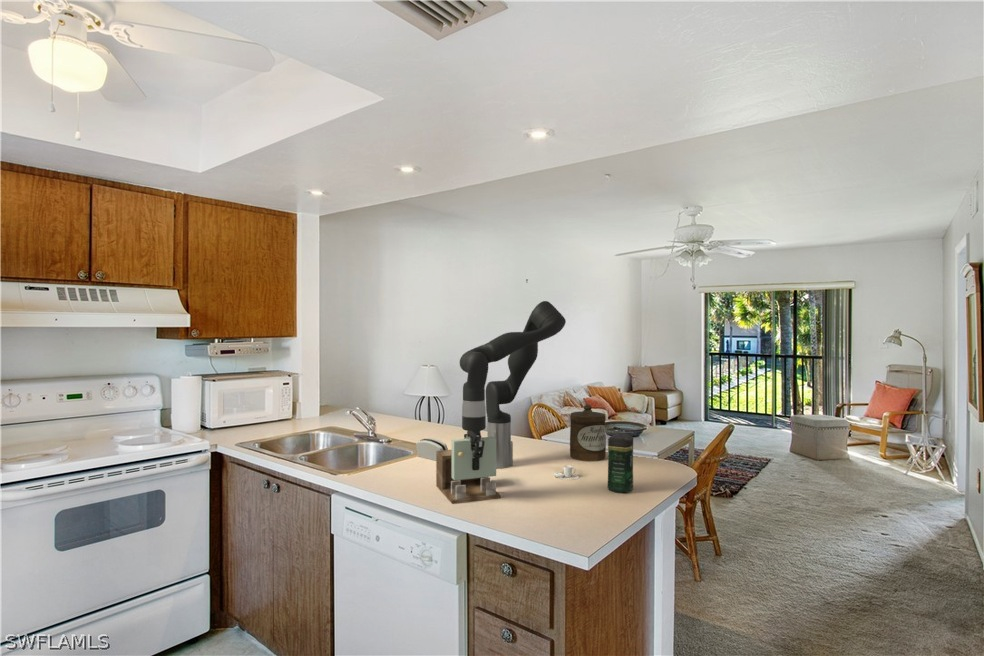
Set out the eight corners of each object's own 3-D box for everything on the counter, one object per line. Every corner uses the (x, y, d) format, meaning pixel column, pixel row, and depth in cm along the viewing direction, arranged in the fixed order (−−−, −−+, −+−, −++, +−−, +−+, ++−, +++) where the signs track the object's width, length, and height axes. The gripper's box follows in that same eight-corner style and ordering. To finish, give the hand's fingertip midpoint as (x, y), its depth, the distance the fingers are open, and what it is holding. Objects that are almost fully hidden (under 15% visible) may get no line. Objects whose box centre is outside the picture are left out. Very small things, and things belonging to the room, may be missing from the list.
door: (493, 473, 170) (492, 436, 170) (497, 476, 166) (497, 439, 166) (451, 477, 165) (451, 439, 165) (455, 481, 161) (455, 442, 161)
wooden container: (582, 462, 210) (582, 408, 210) (563, 454, 223) (563, 403, 223) (613, 459, 216) (613, 406, 216) (592, 451, 229) (592, 401, 229)
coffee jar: (629, 495, 169) (629, 437, 169) (605, 491, 172) (605, 435, 172) (635, 487, 177) (635, 432, 177) (612, 484, 181) (612, 430, 181)
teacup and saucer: (552, 479, 188) (552, 468, 188) (557, 473, 195) (557, 462, 195) (576, 481, 185) (576, 470, 185) (580, 476, 192) (580, 465, 192)
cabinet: (480, 481, 184) (480, 447, 184) (500, 497, 166) (500, 460, 166) (436, 486, 178) (436, 450, 178) (452, 503, 160) (452, 464, 160)
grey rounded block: (454, 460, 213) (448, 439, 210) (446, 467, 209) (440, 445, 207) (426, 454, 223) (420, 433, 221) (418, 460, 220) (412, 439, 218)
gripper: (492, 416, 161) (492, 473, 161) (477, 410, 174) (477, 462, 174) (469, 418, 158) (469, 475, 158) (456, 411, 171) (456, 464, 171)
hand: (473, 468), depth 166 cm, fingers closed on door, 3 cm apart
